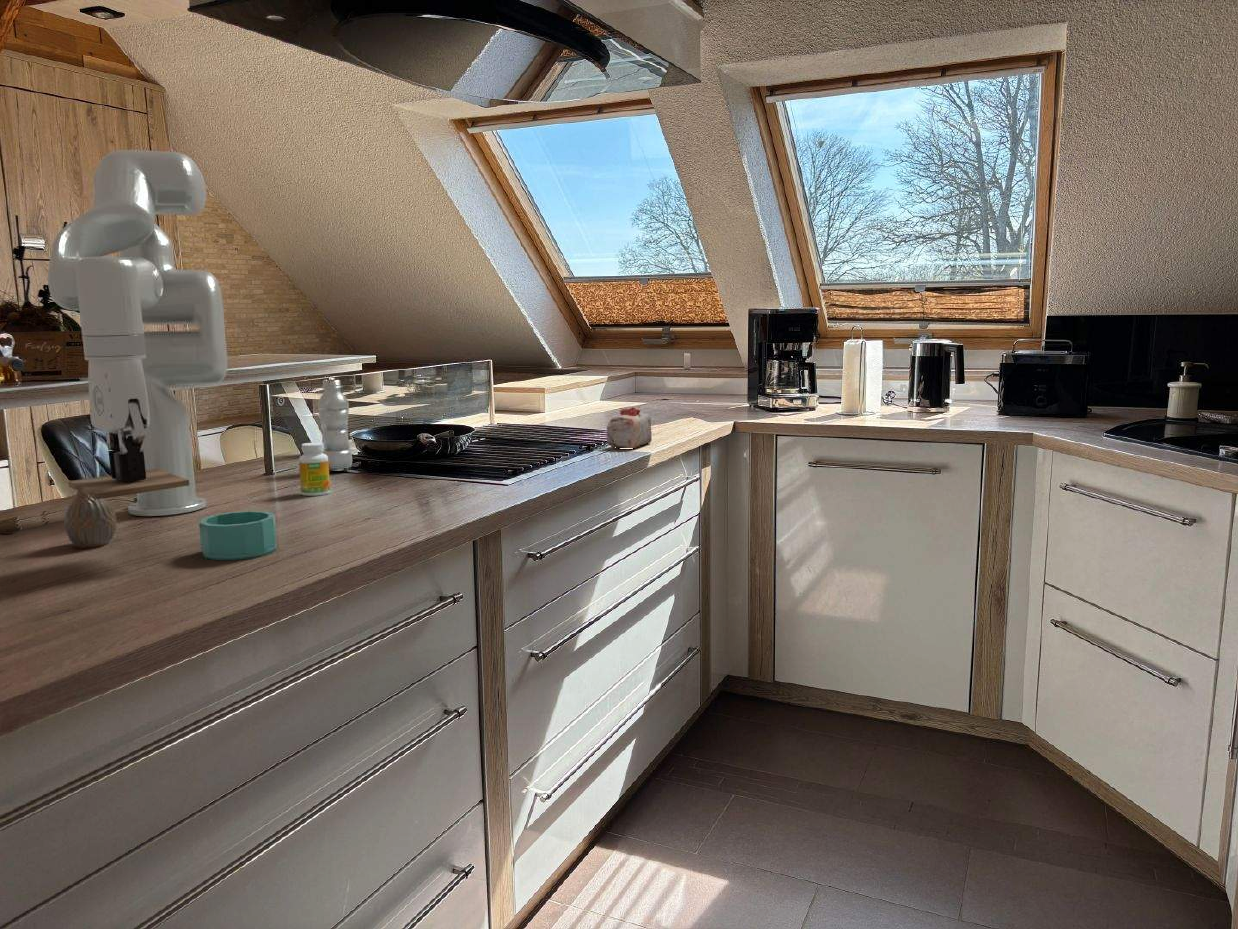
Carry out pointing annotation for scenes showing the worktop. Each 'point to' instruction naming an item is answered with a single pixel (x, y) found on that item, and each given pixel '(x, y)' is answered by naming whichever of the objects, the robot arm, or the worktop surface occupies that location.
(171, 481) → the lid
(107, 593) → the worktop surface
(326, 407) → the plastic bottle
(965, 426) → the worktop surface
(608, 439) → the food item
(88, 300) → the robot arm
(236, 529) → the bowl
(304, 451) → the supplement bottle
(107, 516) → the vase
